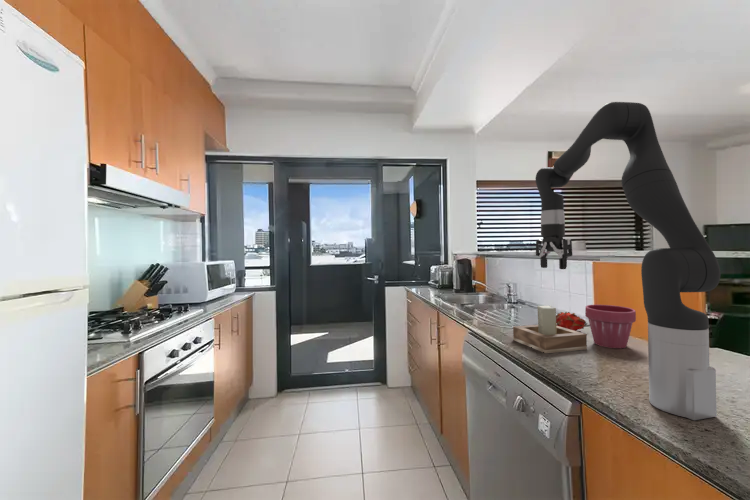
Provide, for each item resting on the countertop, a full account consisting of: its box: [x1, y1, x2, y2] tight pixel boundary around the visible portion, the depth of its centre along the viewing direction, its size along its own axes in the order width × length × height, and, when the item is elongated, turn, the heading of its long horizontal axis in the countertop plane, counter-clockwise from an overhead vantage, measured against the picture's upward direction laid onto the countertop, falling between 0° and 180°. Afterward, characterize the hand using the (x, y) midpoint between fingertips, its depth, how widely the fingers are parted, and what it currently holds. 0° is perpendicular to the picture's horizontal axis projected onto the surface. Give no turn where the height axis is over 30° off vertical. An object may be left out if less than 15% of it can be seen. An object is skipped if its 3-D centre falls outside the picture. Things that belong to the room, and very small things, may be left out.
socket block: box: [512, 324, 588, 354], centre depth 112 cm, size 16×16×5 cm
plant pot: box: [584, 304, 637, 349], centre depth 111 cm, size 14×14×13 cm
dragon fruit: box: [556, 311, 588, 333], centre depth 129 cm, size 8×8×12 cm
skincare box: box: [537, 305, 557, 335], centre depth 112 cm, size 6×4×12 cm
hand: (553, 268), depth 115 cm, fingers open, 8 cm apart
